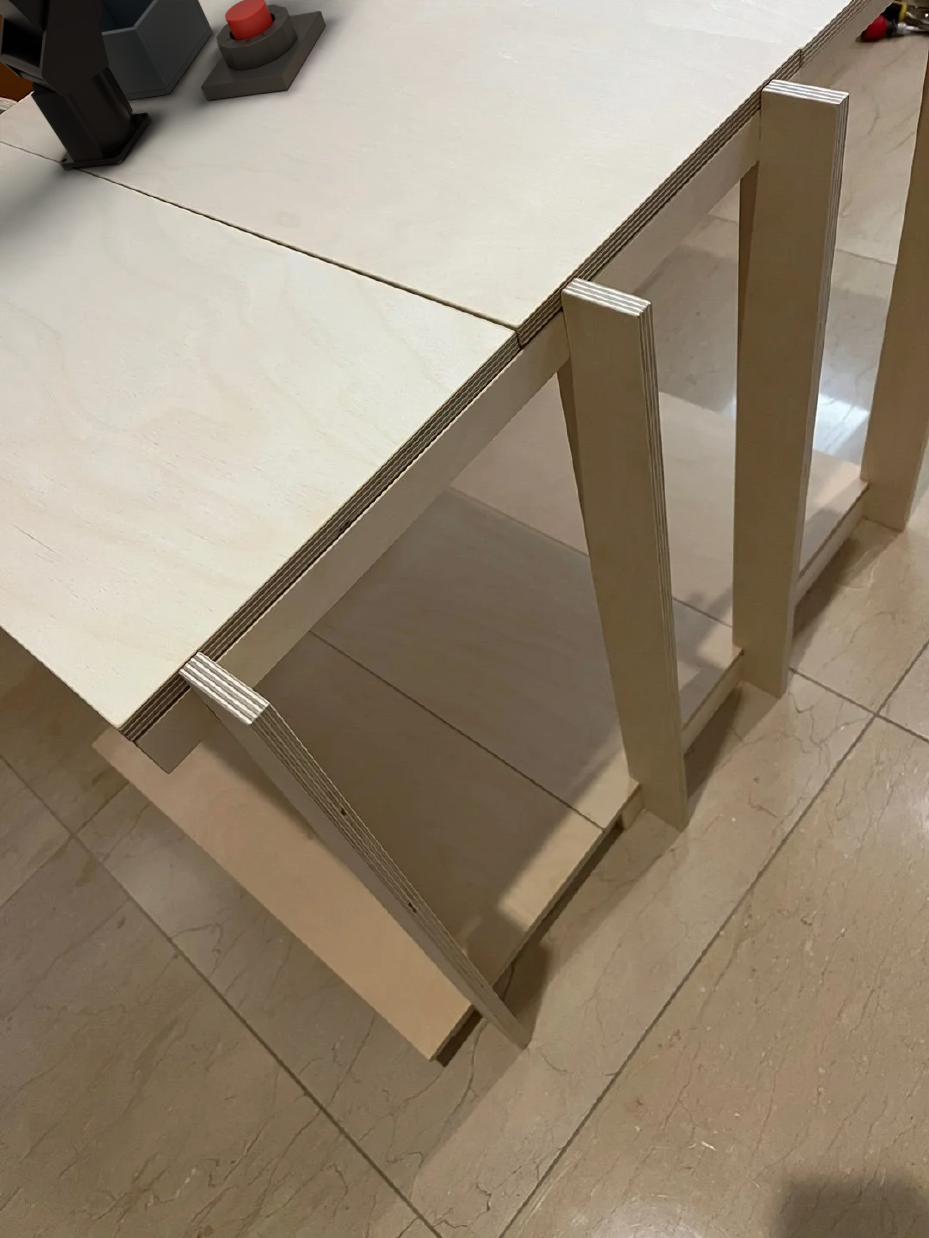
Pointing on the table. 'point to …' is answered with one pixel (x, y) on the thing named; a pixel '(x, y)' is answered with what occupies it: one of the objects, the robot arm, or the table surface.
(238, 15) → the button
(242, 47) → the panel
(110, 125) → the robot arm
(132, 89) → the basket
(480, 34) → the table surface
